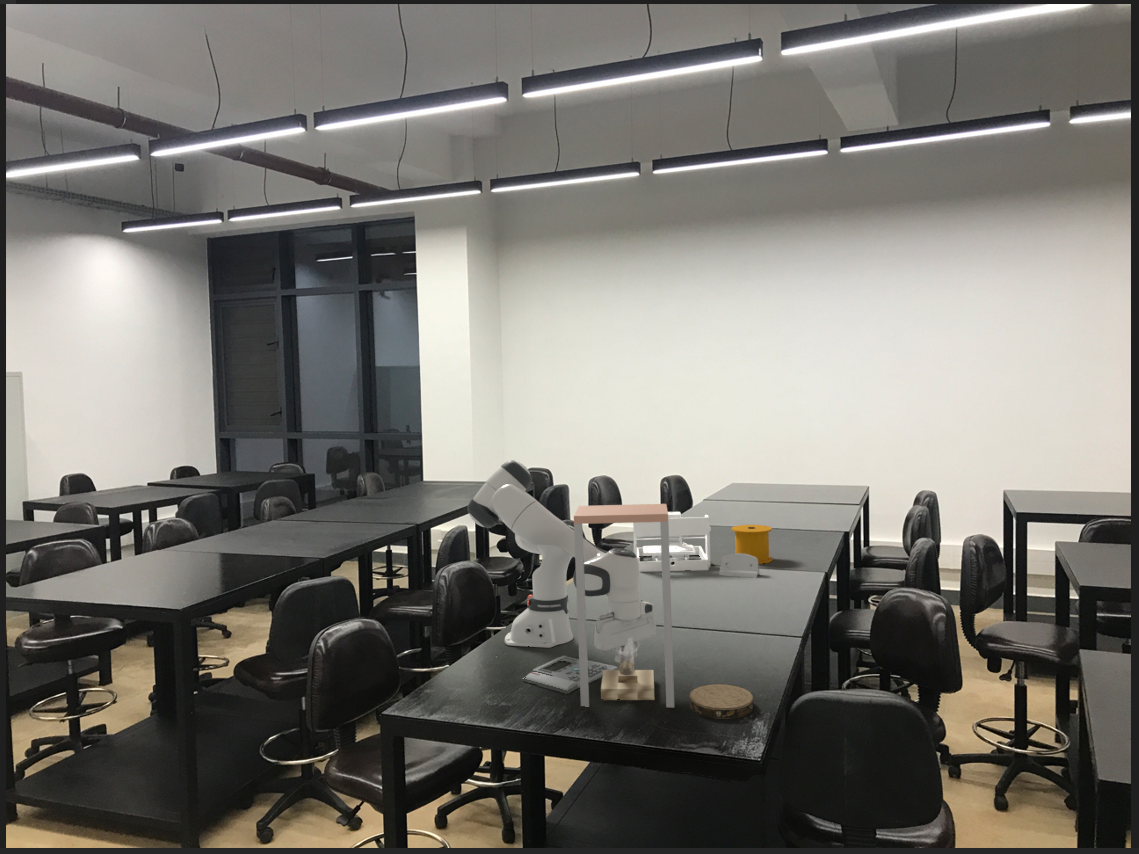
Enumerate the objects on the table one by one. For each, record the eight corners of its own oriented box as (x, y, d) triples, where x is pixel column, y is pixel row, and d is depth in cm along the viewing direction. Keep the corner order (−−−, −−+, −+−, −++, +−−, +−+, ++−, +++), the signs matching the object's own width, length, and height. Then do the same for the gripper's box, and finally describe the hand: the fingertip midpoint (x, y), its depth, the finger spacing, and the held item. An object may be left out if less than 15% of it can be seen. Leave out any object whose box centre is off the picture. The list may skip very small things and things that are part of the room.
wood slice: (764, 704, 210) (764, 693, 209) (732, 725, 198) (732, 713, 198) (711, 690, 220) (710, 679, 220) (677, 709, 208) (677, 698, 208)
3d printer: (707, 554, 389) (703, 502, 387) (715, 570, 357) (711, 513, 356) (633, 559, 391) (629, 507, 390) (635, 575, 359) (630, 519, 358)
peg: (619, 675, 220) (618, 638, 219) (619, 670, 224) (618, 634, 223) (634, 675, 219) (632, 638, 219) (634, 669, 223) (633, 634, 223)
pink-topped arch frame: (581, 707, 211) (573, 516, 209) (585, 683, 228) (578, 505, 225) (674, 707, 209) (668, 513, 206) (671, 683, 226) (666, 503, 223)
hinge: (718, 575, 347) (719, 551, 350) (720, 576, 351) (722, 553, 354) (757, 577, 340) (758, 553, 343) (759, 578, 344) (760, 555, 347)
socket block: (601, 700, 216) (600, 688, 216) (603, 680, 230) (603, 670, 230) (654, 699, 215) (654, 688, 214) (653, 680, 228) (653, 669, 228)
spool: (724, 559, 378) (723, 526, 377) (755, 554, 385) (755, 522, 384) (748, 566, 361) (747, 532, 361) (780, 561, 369) (780, 528, 368)
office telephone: (567, 688, 220) (513, 673, 233) (567, 697, 220) (513, 682, 233) (617, 662, 238) (565, 650, 251) (618, 671, 238) (565, 658, 251)
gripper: (603, 619, 212) (605, 671, 212) (659, 603, 225) (660, 653, 225) (587, 614, 217) (589, 665, 217) (642, 599, 230) (644, 648, 230)
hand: (626, 659), depth 222 cm, fingers closed on peg, 4 cm apart
